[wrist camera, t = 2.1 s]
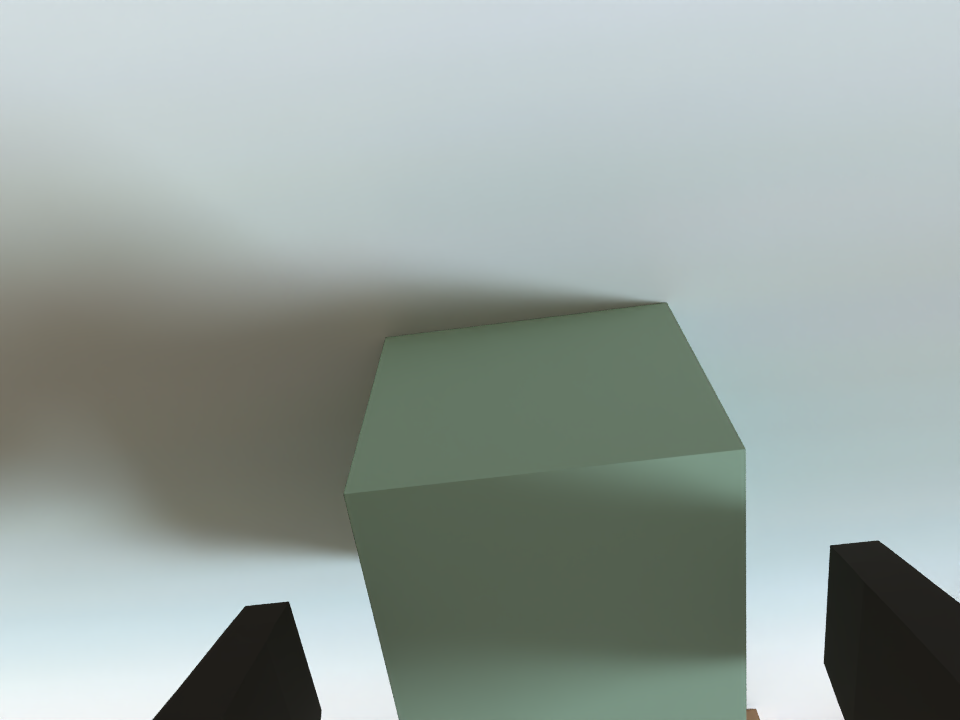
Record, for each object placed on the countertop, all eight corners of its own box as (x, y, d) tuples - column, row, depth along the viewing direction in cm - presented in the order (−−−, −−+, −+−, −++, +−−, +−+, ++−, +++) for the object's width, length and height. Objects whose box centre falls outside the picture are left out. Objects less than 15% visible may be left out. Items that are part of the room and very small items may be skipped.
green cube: (430, 557, 17) (410, 770, 13) (385, 335, 15) (343, 494, 11) (676, 531, 17) (746, 738, 12) (665, 300, 15) (745, 448, 10)
